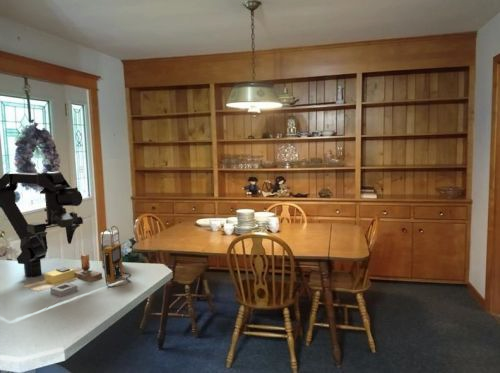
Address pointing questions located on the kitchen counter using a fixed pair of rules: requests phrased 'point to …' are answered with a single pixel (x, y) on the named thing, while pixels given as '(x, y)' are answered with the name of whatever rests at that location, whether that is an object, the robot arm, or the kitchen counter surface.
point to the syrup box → (108, 241)
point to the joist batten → (89, 276)
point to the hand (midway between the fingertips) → (58, 246)
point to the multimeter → (113, 261)
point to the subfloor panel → (45, 284)
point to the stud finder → (59, 275)
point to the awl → (85, 263)
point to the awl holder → (64, 289)
